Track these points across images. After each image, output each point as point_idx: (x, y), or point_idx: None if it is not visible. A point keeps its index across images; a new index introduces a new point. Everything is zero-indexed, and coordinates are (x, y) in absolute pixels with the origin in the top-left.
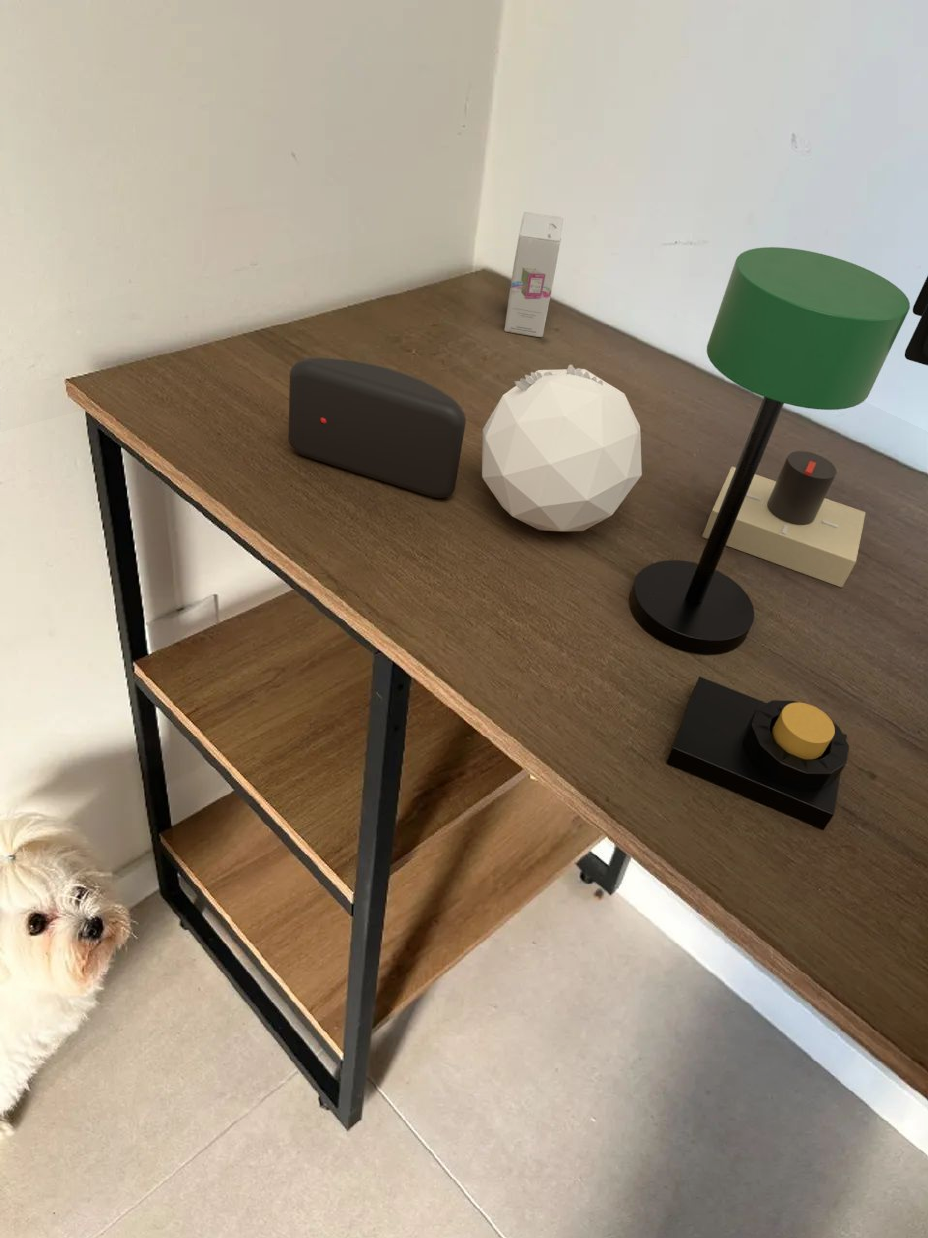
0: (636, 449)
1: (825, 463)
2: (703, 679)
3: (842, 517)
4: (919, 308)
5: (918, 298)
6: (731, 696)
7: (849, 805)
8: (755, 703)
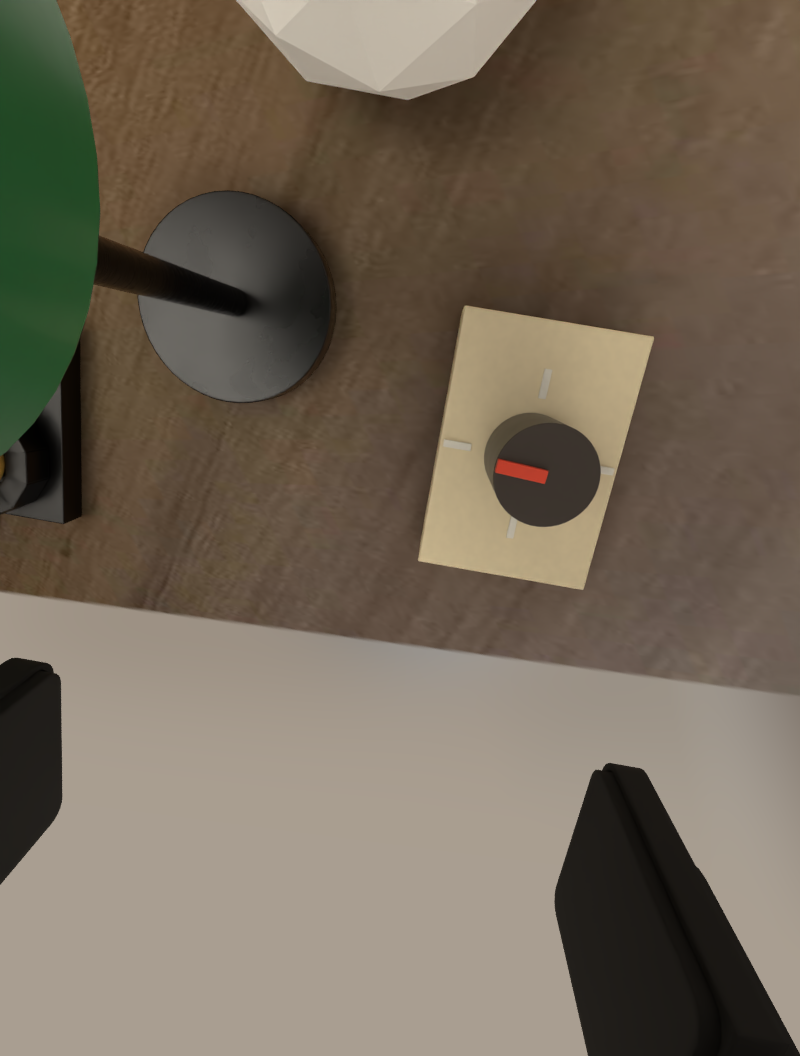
0: (336, 11)
1: (564, 505)
2: None
3: (547, 548)
4: (596, 795)
5: (632, 809)
6: None
7: (7, 524)
8: (51, 407)
